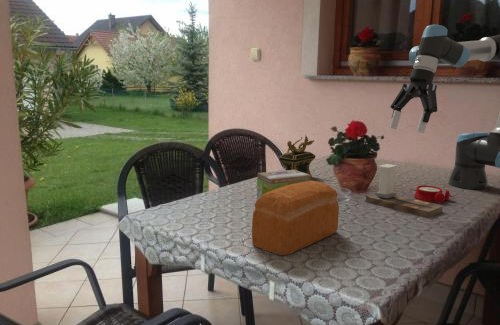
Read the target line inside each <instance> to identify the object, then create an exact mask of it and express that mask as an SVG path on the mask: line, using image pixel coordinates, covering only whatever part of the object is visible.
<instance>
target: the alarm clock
mask: <svg viewBox="0 0 500 325" xmlns="http://www.w3.org/2000/svg"><path fill="white" fill-rule="evenodd" d="M409 191H412V189H409ZM413 191H415V194H413V198H414V199H415V200H419V201H424V202H429V203H432V202H435V203H436V204H442V203H443V202H444V201H445V202H446V201H449V200H450V201H451V200H454V199H455V196H452V195H451V194H450V193H451V192H450V190H448V189H445V193H443V189H442V188H441V187H438V186H433V185H417V186H416V189H413Z"/></svg>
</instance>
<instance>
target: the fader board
mask: <svg viewBox="0 0 500 325" xmlns="http://www.w3.org/2000/svg"><path fill="white" fill-rule="evenodd" d="M365 202H367V203H370V204H373V205H378V206H381V207H385V208H389V209H393V210H398V211H400V212H405V213H408V214H413V215H417V216H419V217H420V216H421V217H424V218H431V217H433V216H436V215H438V214H440V213H442V212H443V208H444V207H443V205H439V204H437V203H436V204H435V203H432V202H429V201H423V200H419V199H415V198H414V199H413V198H409V197H404V196H399V195H396V196H394V197H391V198H388V199H387V198H383V197H379V196H375V193H374V194H370V195H367V196H366V198H365Z"/></svg>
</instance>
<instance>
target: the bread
mask: <svg viewBox="0 0 500 325" xmlns="http://www.w3.org/2000/svg"><path fill="white" fill-rule="evenodd" d="M254 207H255V208H254V210H253V213H252V221H251V222H252V224H251V241H252V245H254V246H255V245H256V246H255V247H256V248H258V247H260V248H262V249H264V250H263V251H265V250H267V251H266V252H268V251H269V253H271V252H272V254H275V253H276V254H275V255H278V254H280V255H279V256H288V255H291V254H293V253H295V252H297V251H298V250H301V249H304V248H306V247H308V246H310V245H313V244H315V243H317V242H319V241H321V240H323V239H326V238H327V237H329V236H331V235H334V234H335V233H337V232H338V226H339V215H340V214H339V213H340V212H339V211H340V210H339V207H340V206H339V202H338V192H337V190H336V189H334V188H333V187H332V186H330V185H329V184H327V183H325V182H321V181H318V180H317V181H316V180H310V181H306V182H301V183H296V184H291V185H287V186H284V187H281V188H278V189H275V190H272V191H270V192H268V193H265V194H263V195H262V196H261V197H260V198H259V199H257V198H256V201H255V202H254ZM260 248H259V249H260ZM262 249H261V250H262Z"/></svg>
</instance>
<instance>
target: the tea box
mask: <svg viewBox="0 0 500 325" xmlns="http://www.w3.org/2000/svg"><path fill="white" fill-rule="evenodd" d="M311 175H312V174H311ZM311 175H309V174H306V173H303V172H300V171H297V170H285V169H284V170H278V171H266V172H257V178H256V200H257V199H259V198H260V197H261V196H262V195H263V194H265V193H268V192H270V191H272V190H275V189H278V188H281V187H284V186H287V185H291V184H296V183H301V182H306V181H312V180H311V178H312V176H311Z"/></svg>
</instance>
